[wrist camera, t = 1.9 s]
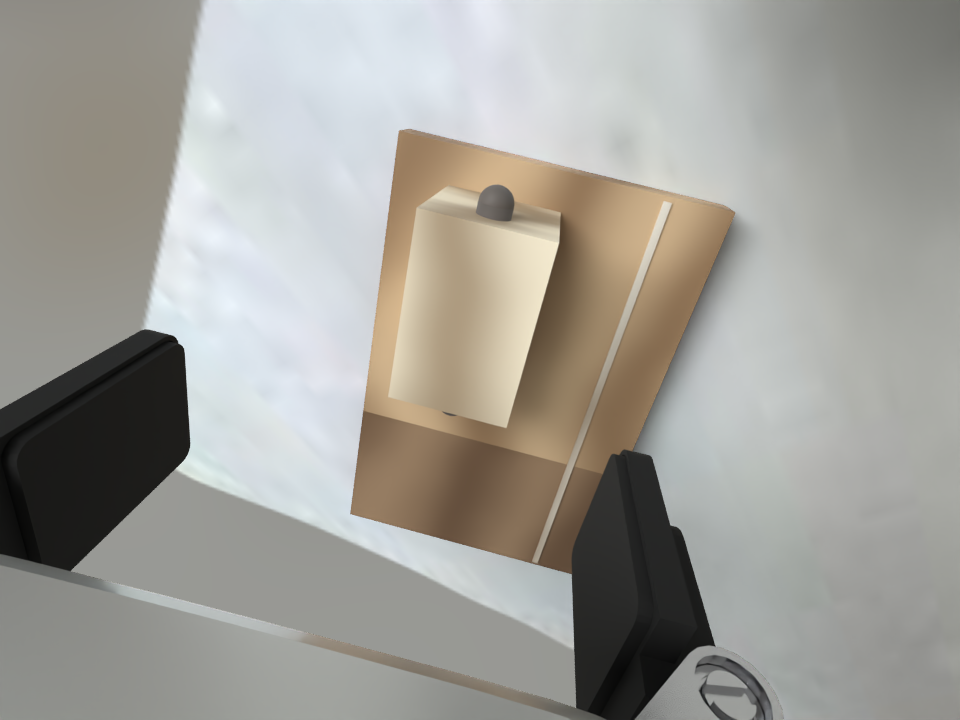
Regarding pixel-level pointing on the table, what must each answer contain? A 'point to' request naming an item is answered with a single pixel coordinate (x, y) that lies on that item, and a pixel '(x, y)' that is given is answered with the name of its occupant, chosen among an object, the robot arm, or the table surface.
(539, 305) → the beige block with knob
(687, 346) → the table surface
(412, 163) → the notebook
